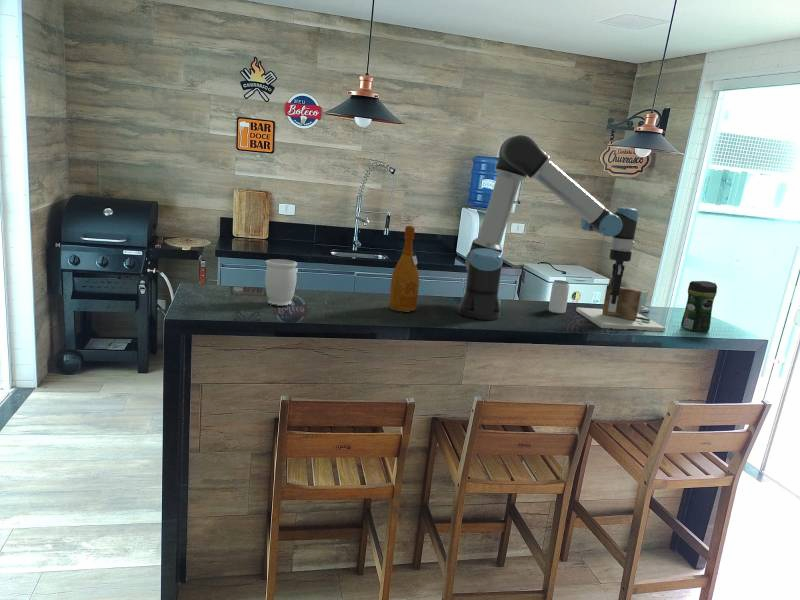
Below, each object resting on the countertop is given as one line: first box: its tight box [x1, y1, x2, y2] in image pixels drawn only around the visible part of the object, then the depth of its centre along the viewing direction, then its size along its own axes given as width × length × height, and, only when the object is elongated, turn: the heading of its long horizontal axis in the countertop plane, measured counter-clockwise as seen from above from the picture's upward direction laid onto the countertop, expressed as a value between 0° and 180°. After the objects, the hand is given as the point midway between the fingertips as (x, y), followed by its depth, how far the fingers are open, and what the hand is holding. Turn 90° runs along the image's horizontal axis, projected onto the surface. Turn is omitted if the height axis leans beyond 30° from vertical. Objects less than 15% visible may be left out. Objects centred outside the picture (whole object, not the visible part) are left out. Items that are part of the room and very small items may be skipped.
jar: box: [264, 258, 298, 305], centre depth 203 cm, size 11×10×15 cm
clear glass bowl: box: [638, 290, 650, 314], centre depth 247 cm, size 12×12×8 cm
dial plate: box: [575, 306, 666, 332], centre depth 225 cm, size 24×24×2 cm
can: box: [548, 279, 570, 314], centre depth 230 cm, size 6×6×12 cm
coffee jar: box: [680, 280, 718, 333], centre depth 220 cm, size 10×8×19 cm
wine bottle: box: [389, 225, 420, 312], centre depth 209 cm, size 10×10×30 cm
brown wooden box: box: [602, 284, 651, 321], centre depth 222 cm, size 17×3×11 cm, turn 60°
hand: (611, 310), depth 226 cm, fingers closed on brown wooden box, 4 cm apart
